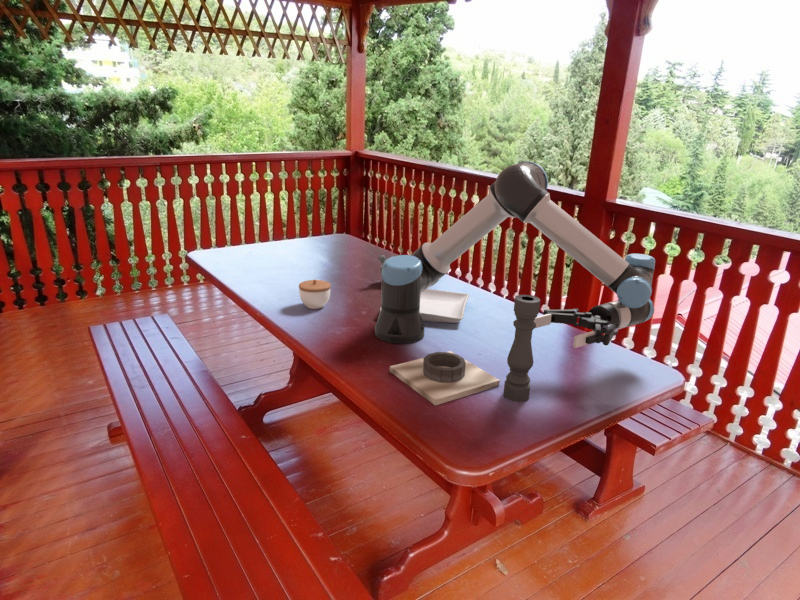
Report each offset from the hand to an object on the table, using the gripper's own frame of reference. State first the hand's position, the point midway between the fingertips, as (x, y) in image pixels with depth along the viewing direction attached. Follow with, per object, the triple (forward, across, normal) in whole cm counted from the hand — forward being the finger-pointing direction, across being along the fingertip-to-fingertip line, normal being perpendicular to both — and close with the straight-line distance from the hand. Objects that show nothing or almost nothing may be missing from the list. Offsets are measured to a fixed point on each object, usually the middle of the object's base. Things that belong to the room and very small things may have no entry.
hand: (552, 332), depth 132 cm
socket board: (+20, +16, -15) cm, 30 cm away
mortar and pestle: (-11, +91, -14) cm, 93 cm away
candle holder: (+10, 0, -15) cm, 18 cm away
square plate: (-6, +60, -15) cm, 62 cm away
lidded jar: (+26, +81, -14) cm, 87 cm away
